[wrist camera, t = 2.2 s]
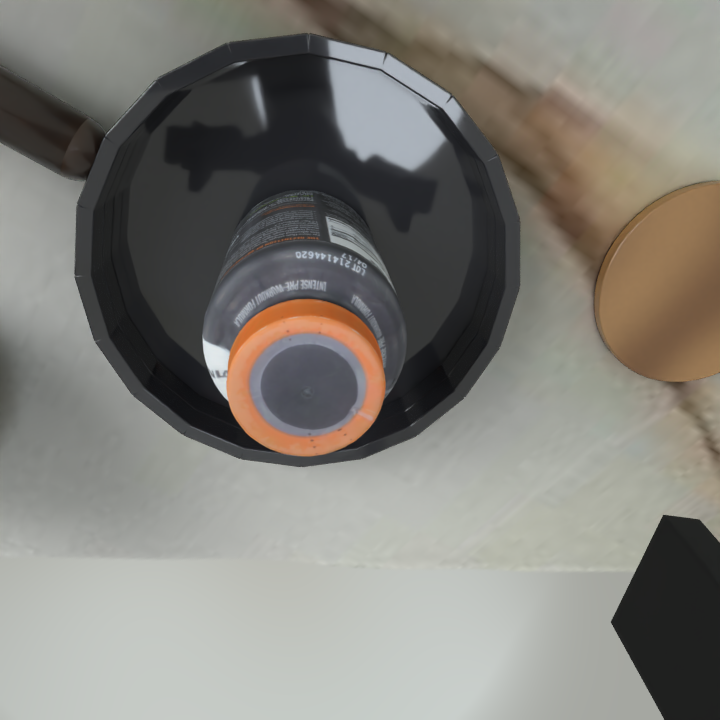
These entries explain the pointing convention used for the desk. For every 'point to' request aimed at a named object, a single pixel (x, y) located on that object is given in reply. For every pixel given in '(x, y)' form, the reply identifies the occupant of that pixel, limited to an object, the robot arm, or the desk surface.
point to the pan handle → (47, 128)
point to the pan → (287, 173)
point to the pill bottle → (304, 325)
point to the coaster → (665, 288)
